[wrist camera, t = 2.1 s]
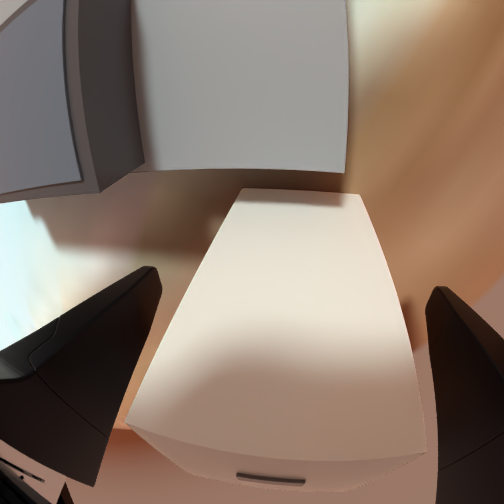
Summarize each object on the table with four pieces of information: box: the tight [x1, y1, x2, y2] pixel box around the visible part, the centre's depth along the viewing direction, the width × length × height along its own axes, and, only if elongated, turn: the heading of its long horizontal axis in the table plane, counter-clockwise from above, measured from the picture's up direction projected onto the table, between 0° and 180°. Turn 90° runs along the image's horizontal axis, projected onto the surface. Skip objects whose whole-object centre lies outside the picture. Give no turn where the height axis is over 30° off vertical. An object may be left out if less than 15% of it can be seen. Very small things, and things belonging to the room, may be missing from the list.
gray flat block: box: [0, 0, 145, 203], centre depth 5 cm, size 10×6×2 cm, turn 92°
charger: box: [124, 188, 427, 492], centre depth 7 cm, size 4×4×8 cm
